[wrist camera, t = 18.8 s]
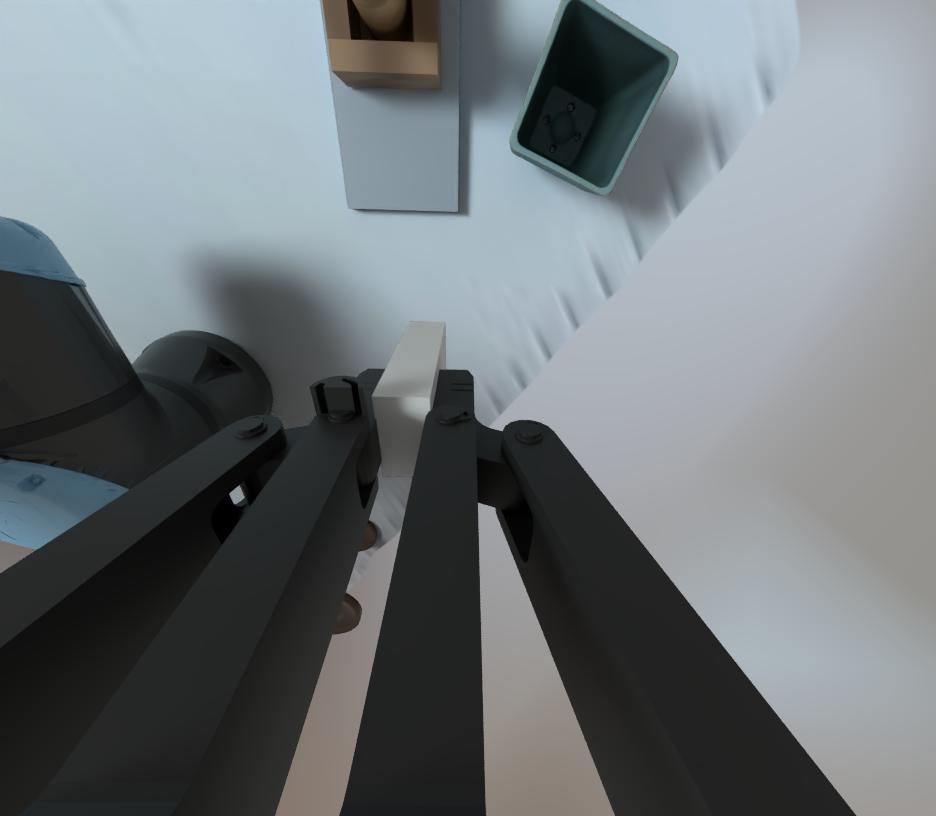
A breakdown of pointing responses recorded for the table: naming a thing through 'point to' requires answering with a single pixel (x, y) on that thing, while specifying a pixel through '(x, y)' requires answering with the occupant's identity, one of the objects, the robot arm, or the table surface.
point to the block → (384, 48)
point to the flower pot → (591, 95)
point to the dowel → (386, 18)
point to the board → (403, 135)
